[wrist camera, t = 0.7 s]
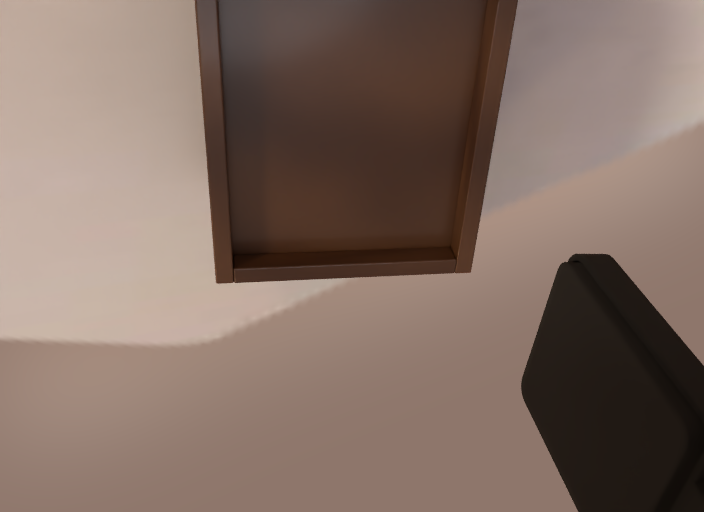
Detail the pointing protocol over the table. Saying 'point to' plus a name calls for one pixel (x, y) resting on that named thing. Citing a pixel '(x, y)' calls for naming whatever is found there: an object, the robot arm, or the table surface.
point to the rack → (349, 133)
